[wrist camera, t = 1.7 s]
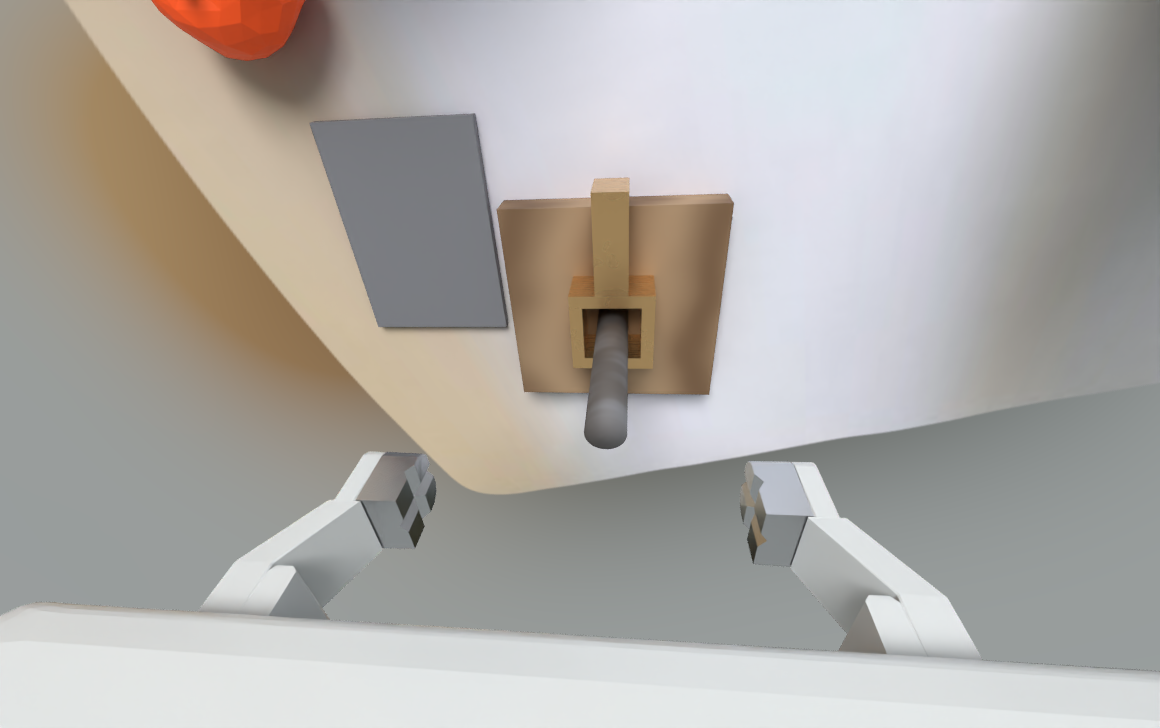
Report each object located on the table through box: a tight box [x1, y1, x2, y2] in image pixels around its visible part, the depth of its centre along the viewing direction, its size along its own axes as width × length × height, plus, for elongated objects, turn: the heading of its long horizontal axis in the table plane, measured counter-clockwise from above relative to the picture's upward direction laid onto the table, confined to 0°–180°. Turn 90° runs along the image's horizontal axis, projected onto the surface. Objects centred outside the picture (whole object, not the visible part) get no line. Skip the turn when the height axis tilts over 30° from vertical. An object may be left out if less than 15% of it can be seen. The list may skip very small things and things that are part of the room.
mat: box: [310, 114, 508, 327], centre depth 32 cm, size 10×14×1 cm
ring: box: [568, 178, 656, 369], centre depth 29 cm, size 5×11×3 cm, turn 3°
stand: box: [497, 194, 734, 449], centre depth 28 cm, size 14×14×14 cm
